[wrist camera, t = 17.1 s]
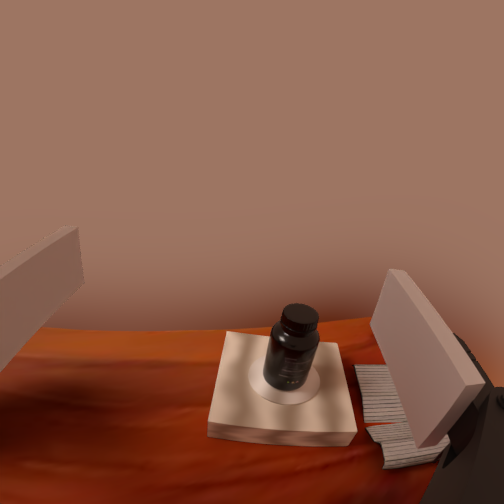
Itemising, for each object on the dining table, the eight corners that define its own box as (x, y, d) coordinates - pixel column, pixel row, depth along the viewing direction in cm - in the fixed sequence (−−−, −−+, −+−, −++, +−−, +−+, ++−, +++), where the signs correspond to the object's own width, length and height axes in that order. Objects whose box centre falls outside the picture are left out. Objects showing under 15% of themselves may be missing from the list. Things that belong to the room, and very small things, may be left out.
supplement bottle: (257, 362, 46) (270, 298, 41) (298, 360, 47) (316, 298, 43) (266, 394, 40) (283, 328, 35) (311, 390, 41) (334, 326, 36)
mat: (444, 369, 52) (454, 352, 50) (485, 453, 30) (501, 437, 28) (349, 369, 52) (356, 351, 51) (372, 477, 31) (387, 462, 29)
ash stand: (207, 436, 36) (207, 420, 34) (225, 347, 54) (227, 329, 53) (347, 446, 36) (358, 430, 34) (331, 359, 54) (337, 341, 53)
